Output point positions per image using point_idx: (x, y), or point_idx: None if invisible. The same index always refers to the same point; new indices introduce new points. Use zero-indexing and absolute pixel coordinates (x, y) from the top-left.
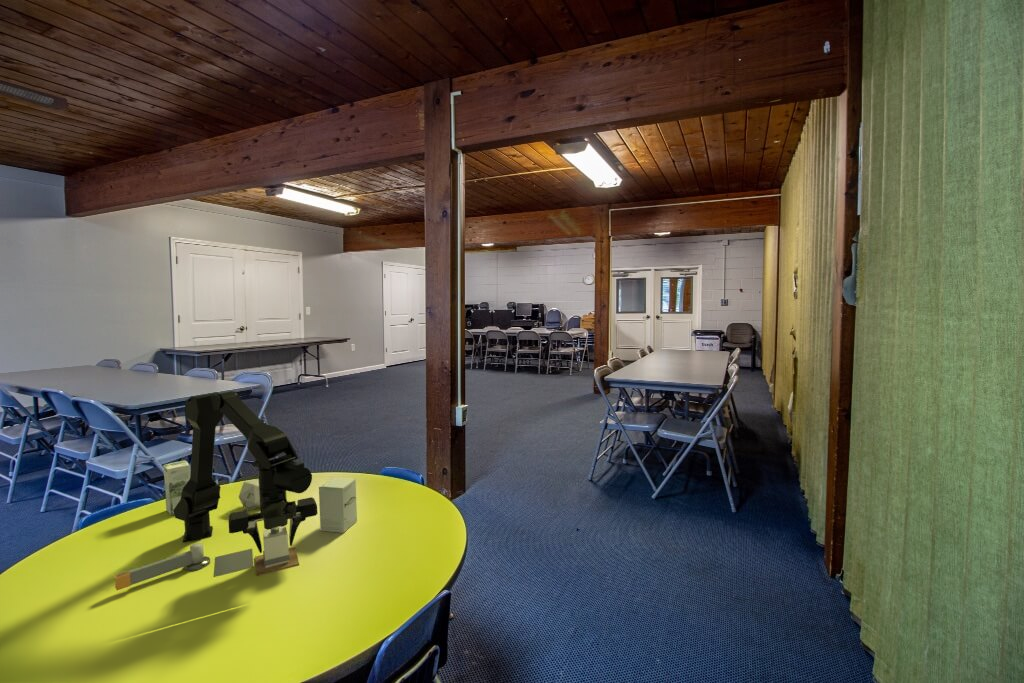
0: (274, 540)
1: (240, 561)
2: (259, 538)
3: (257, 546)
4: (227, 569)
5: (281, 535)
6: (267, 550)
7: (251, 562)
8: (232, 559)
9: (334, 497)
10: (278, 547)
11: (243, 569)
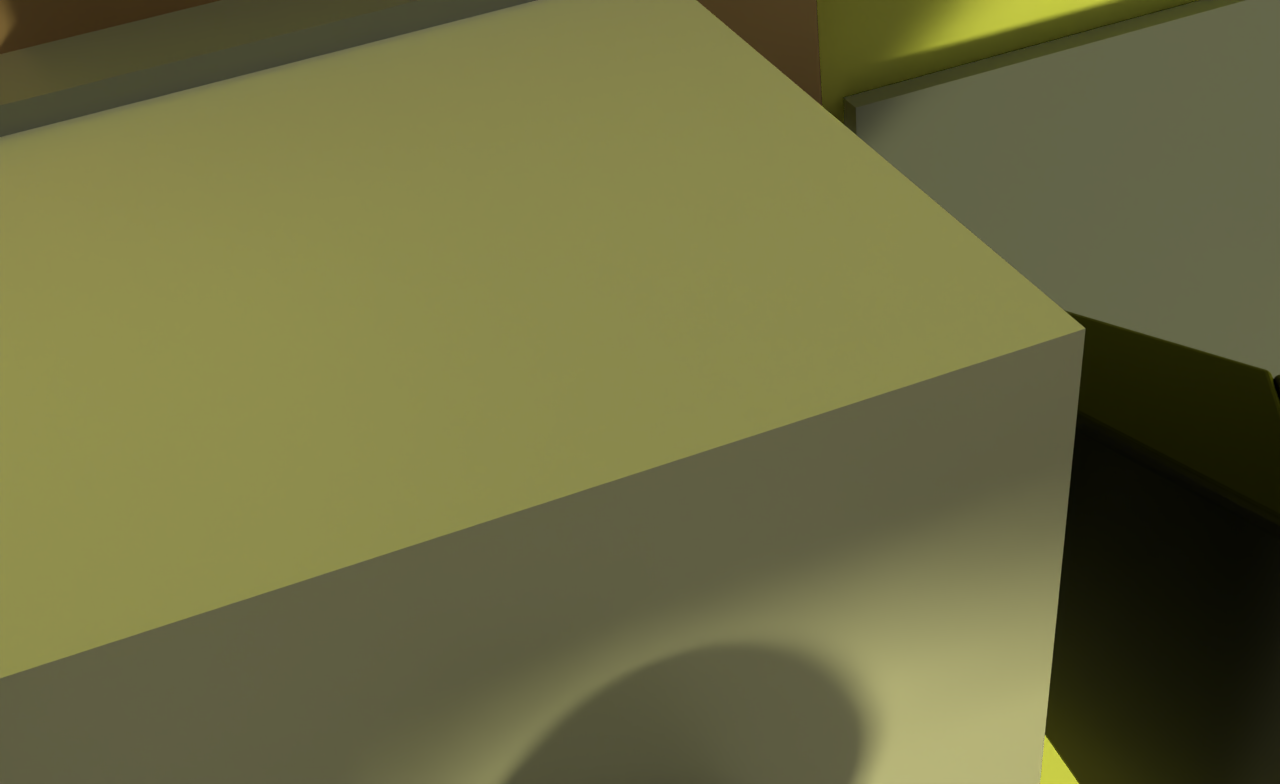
0: (479, 364)
1: None
2: (1209, 487)
3: None
4: (1264, 148)
5: (74, 635)
6: (685, 94)
7: None
8: None
9: None
10: (276, 221)
11: (1033, 59)
